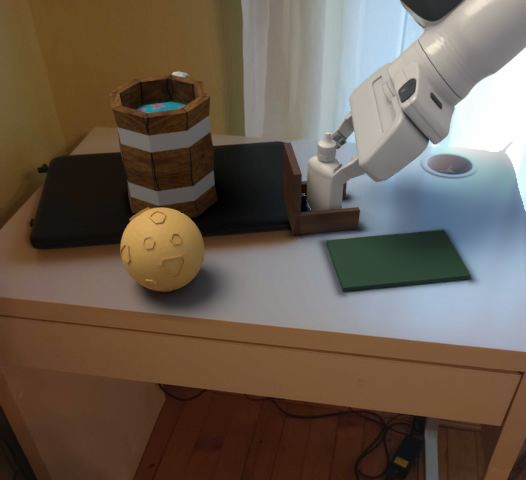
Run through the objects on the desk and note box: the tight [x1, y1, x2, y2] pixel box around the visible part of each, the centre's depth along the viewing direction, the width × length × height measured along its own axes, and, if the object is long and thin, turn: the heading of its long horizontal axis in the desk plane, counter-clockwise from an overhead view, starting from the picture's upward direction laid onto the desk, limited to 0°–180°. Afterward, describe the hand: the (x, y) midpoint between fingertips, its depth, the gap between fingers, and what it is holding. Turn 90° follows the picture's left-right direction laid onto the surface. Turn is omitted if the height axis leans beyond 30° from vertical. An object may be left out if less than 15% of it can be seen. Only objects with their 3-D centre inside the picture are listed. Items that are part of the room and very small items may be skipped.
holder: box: [282, 141, 361, 236], centre depth 85 cm, size 9×9×9 cm
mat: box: [325, 229, 472, 292], centre depth 80 cm, size 16×10×1 cm, turn 97°
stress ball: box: [119, 207, 205, 292], centre depth 75 cm, size 10×10×10 cm
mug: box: [108, 70, 219, 219], centre depth 89 cm, size 20×14×15 cm
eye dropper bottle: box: [305, 131, 343, 212], centre depth 84 cm, size 4×6×12 cm
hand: (333, 161), depth 83 cm, fingers open, 8 cm apart
